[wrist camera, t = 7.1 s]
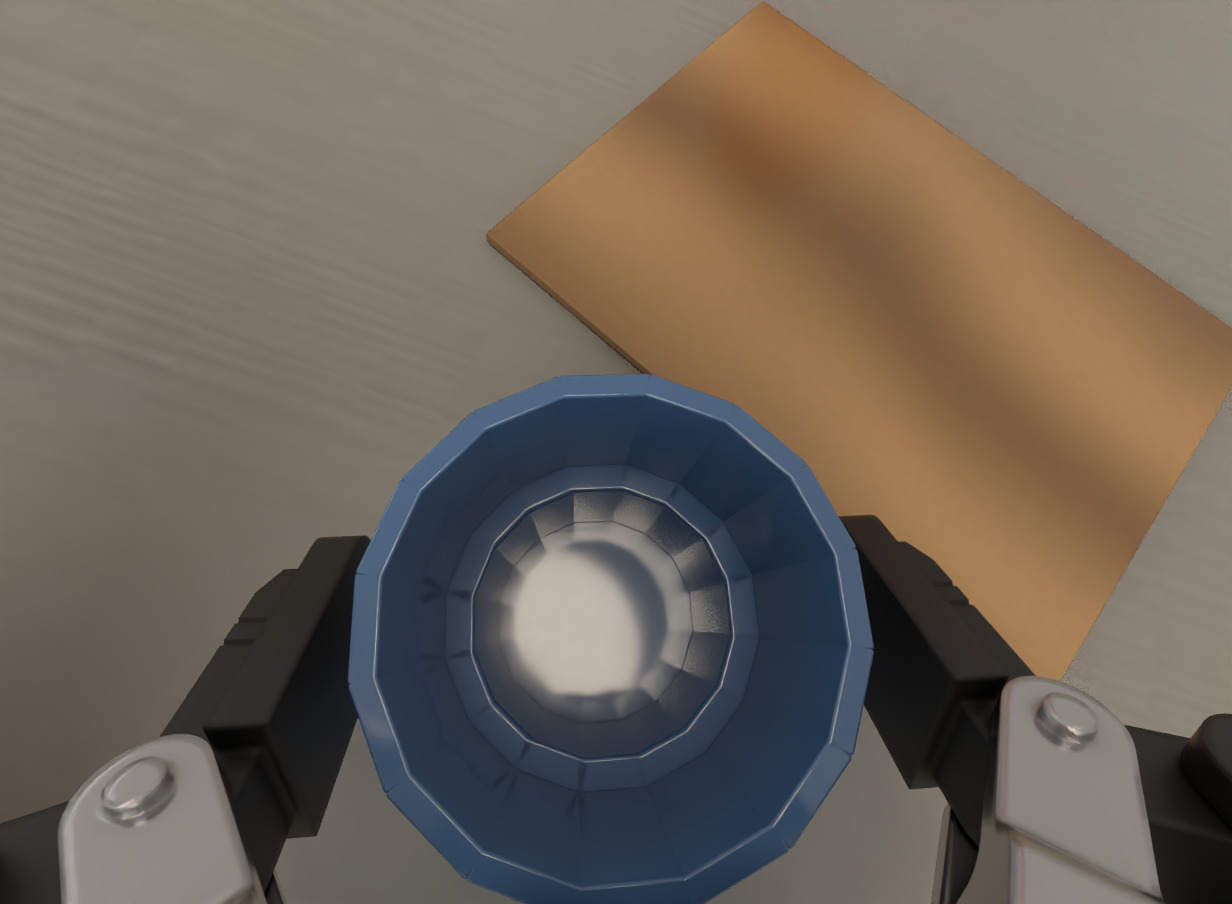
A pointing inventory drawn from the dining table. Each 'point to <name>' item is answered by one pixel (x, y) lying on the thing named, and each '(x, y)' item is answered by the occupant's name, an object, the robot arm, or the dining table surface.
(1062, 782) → the robot arm
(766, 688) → the blue plastic tumbler
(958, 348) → the mat
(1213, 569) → the dining table surface
